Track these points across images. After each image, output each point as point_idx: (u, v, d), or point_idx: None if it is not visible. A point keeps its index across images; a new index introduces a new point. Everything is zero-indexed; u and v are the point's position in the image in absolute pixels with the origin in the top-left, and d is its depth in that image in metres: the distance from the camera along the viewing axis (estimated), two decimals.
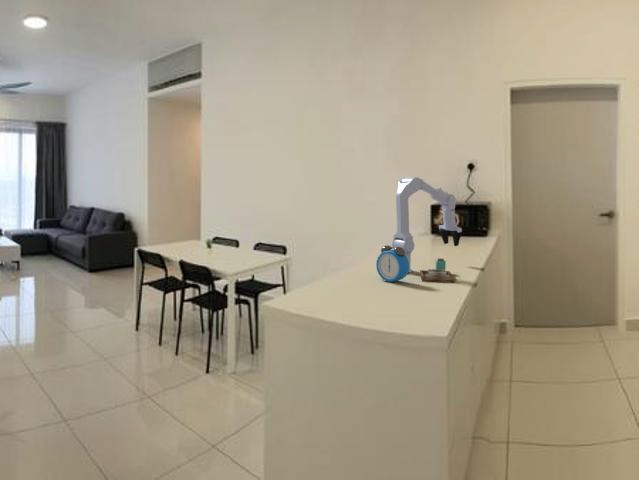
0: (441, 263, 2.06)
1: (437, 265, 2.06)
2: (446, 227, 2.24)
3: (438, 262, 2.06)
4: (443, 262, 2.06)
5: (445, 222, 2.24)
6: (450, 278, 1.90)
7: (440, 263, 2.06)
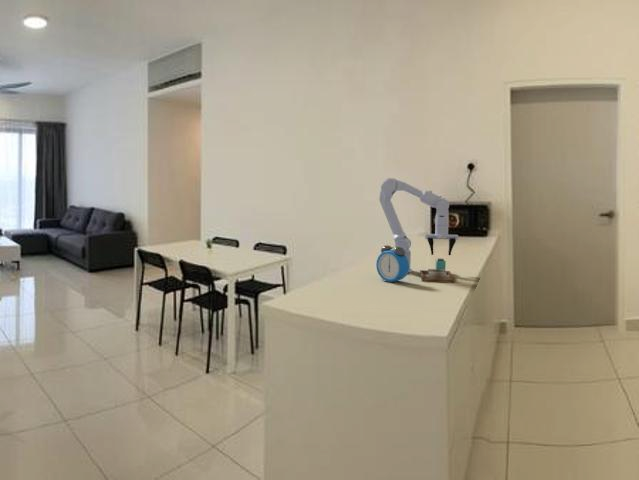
0: (441, 263, 2.06)
1: (437, 265, 2.06)
2: None
3: (438, 262, 2.06)
4: (443, 262, 2.06)
5: None
6: (450, 278, 1.90)
7: (440, 263, 2.06)
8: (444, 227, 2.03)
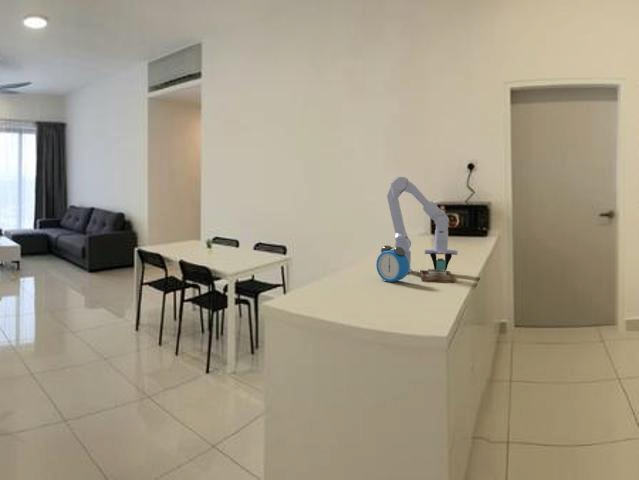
0: (441, 263, 2.06)
1: (437, 265, 2.06)
2: None
3: (438, 262, 2.06)
4: (443, 262, 2.06)
5: None
6: (450, 278, 1.90)
7: (440, 263, 2.06)
8: (443, 243, 2.04)
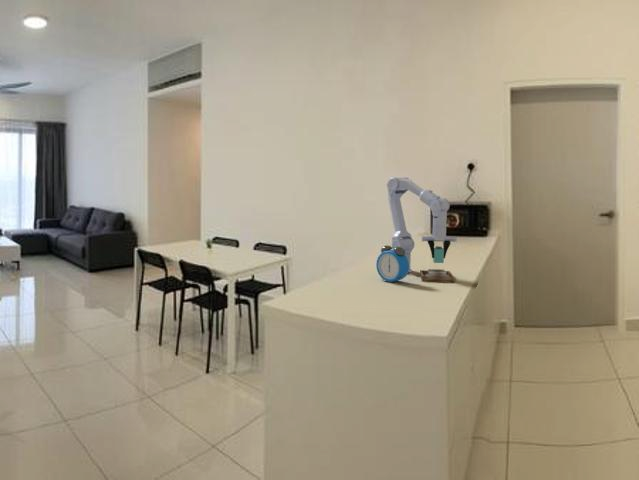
0: (439, 251, 1.95)
1: (435, 253, 1.95)
2: None
3: (436, 250, 1.95)
4: (441, 250, 1.95)
5: None
6: (450, 278, 1.90)
7: (438, 251, 1.95)
8: (442, 229, 1.92)
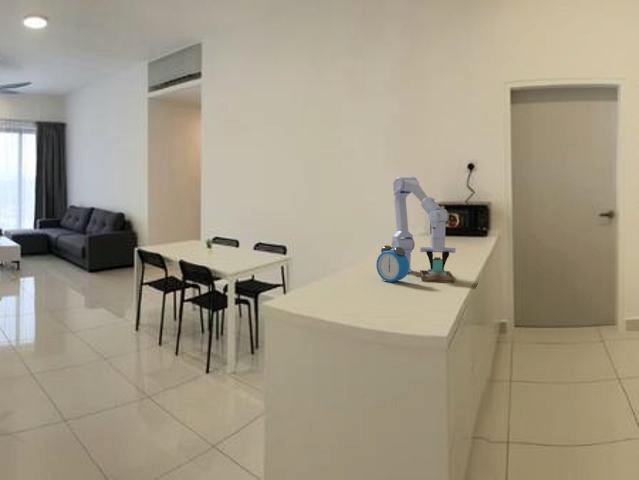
0: (438, 262, 1.93)
1: (433, 264, 1.93)
2: None
3: (435, 261, 1.93)
4: (440, 261, 1.92)
5: None
6: (450, 278, 1.90)
7: (437, 262, 1.93)
8: (440, 240, 1.90)
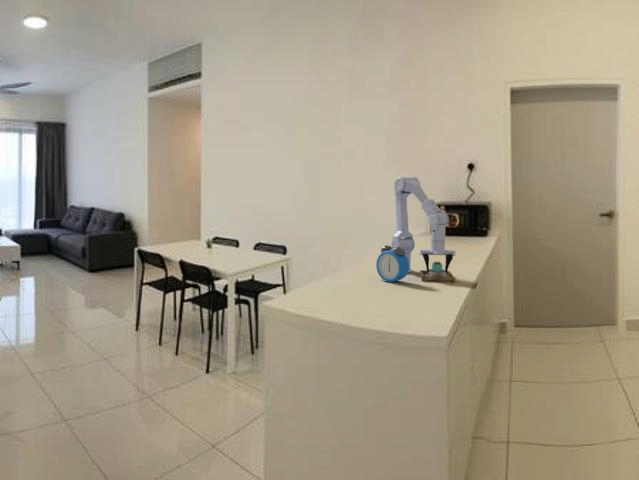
0: (438, 266, 1.93)
1: (433, 269, 1.93)
2: None
3: (434, 265, 1.93)
4: (440, 265, 1.93)
5: None
6: (450, 278, 1.90)
7: (436, 266, 1.93)
8: (440, 243, 1.90)
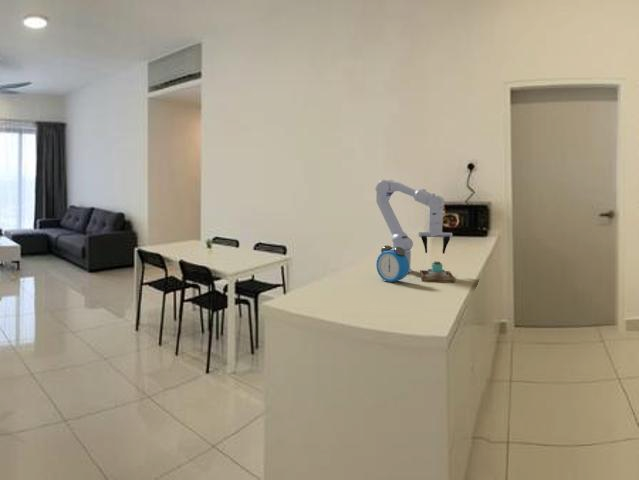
0: (438, 266, 1.93)
1: (433, 269, 1.93)
2: None
3: (434, 265, 1.93)
4: (440, 265, 1.93)
5: None
6: (450, 278, 1.90)
7: (436, 266, 1.93)
8: (438, 225, 2.00)
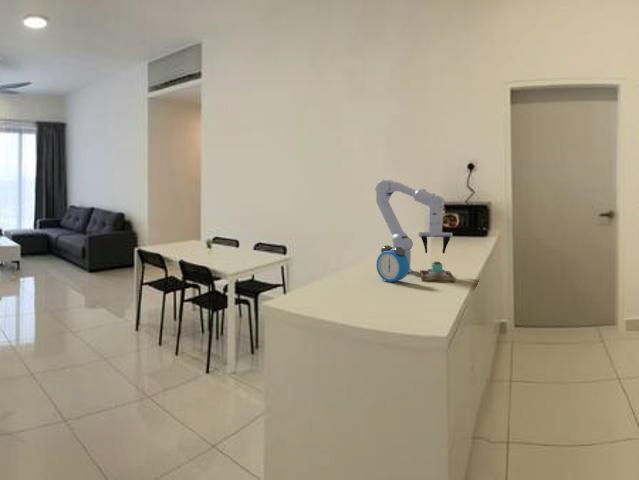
0: (438, 266, 1.93)
1: (433, 269, 1.93)
2: None
3: (434, 265, 1.93)
4: (440, 265, 1.93)
5: None
6: (450, 278, 1.90)
7: (436, 266, 1.93)
8: (438, 225, 2.00)
